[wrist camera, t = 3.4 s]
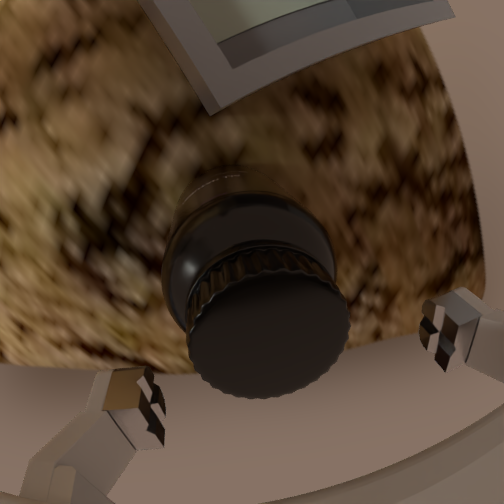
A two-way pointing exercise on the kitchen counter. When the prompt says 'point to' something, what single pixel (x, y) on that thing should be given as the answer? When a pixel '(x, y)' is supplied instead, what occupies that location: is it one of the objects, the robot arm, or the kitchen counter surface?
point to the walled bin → (273, 37)
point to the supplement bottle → (253, 285)
